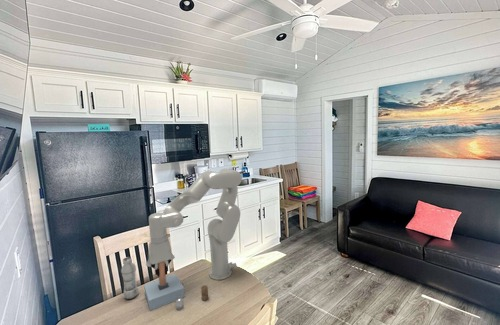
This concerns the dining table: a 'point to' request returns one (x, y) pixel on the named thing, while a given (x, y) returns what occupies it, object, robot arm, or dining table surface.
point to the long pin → (162, 274)
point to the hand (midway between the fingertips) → (162, 274)
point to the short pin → (179, 303)
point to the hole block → (163, 292)
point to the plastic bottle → (129, 278)
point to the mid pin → (204, 293)
